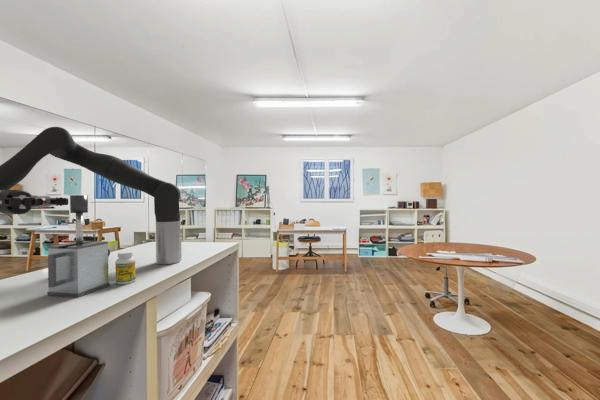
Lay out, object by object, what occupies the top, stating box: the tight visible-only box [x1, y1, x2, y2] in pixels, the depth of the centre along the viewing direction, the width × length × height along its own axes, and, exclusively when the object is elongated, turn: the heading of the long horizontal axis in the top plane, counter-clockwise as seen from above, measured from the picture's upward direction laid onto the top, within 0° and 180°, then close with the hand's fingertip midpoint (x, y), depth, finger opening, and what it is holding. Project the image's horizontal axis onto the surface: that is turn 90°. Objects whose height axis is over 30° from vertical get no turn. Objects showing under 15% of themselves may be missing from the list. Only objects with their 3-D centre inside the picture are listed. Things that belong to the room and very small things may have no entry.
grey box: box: [46, 240, 111, 298], centre depth 78 cm, size 13×10×14 cm
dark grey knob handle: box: [69, 194, 89, 245], centre depth 79 cm, size 7×7×18 cm
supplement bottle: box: [115, 250, 137, 285], centre depth 87 cm, size 5×5×10 cm
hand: (52, 201), depth 81 cm, fingers open, 8 cm apart
